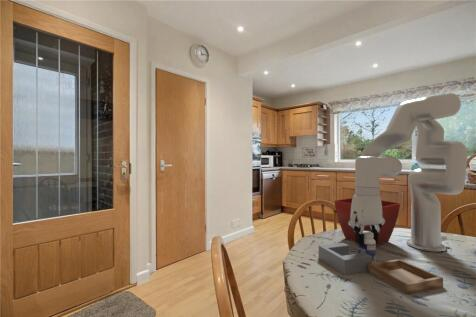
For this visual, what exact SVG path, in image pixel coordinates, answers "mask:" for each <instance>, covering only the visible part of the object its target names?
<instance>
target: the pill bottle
mask: <svg viewBox="0 0 476 317" xmlns="http://www.w3.org/2000/svg"><path fill="white" fill-rule="evenodd" d="M362 234H364V246H361V245H359V244H357V245H358V246H357V248H358V253H357V254H359V253H366V254H368V255H371V256H372V263H377V262H376V260H377V258H376V257H377V253H376V250H377V248H376V247H377V245H376V241H375V240H374V239H373V237H374V235H373V233H372V232H369V231H363V233H362Z"/></svg>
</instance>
